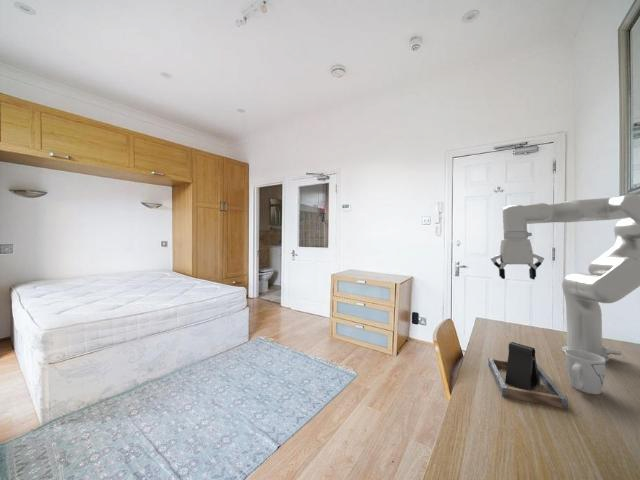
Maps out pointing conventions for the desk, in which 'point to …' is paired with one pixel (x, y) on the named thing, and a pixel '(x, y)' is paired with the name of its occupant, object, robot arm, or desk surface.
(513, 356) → the phone stand
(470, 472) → the desk surface
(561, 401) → the wooden frame
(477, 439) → the desk surface
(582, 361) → the mug
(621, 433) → the desk surface
